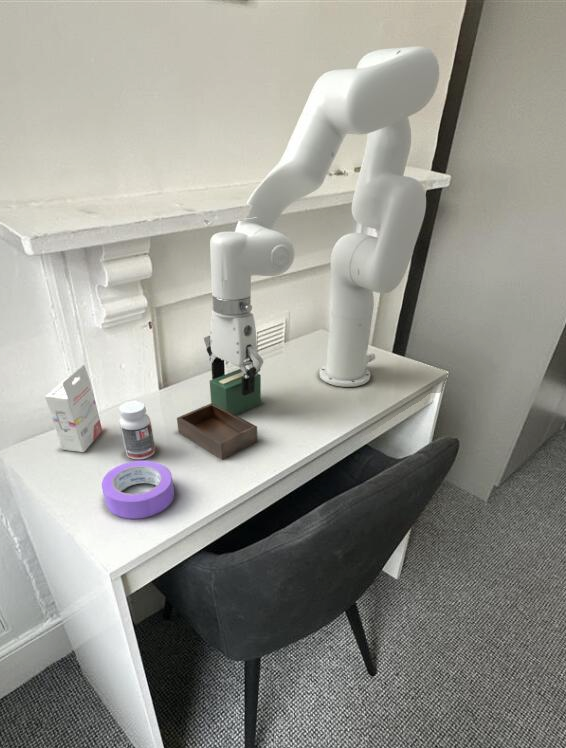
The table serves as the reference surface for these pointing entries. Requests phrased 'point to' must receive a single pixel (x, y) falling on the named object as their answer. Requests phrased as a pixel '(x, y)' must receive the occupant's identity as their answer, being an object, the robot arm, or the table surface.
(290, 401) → the table surface
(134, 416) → the pill bottle
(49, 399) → the ink cartridge box
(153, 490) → the tape roll
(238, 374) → the green box
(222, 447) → the caddy
